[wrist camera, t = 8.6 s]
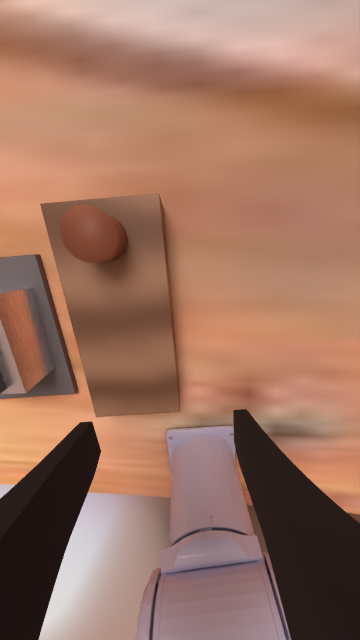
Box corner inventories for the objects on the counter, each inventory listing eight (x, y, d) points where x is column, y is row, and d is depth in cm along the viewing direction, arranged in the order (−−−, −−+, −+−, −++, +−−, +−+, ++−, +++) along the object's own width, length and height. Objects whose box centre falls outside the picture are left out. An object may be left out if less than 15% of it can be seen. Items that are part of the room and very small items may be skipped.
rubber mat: (78, 389, 21) (75, 393, 21) (-3, 395, 22) (-8, 399, 21) (39, 254, 17) (34, 254, 16) (-62, 263, 17) (-70, 263, 17)
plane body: (179, 391, 21) (179, 439, 16) (107, 395, 22) (81, 446, 16) (162, 204, 16) (153, 175, 10) (64, 212, 16) (1, 189, 10)
